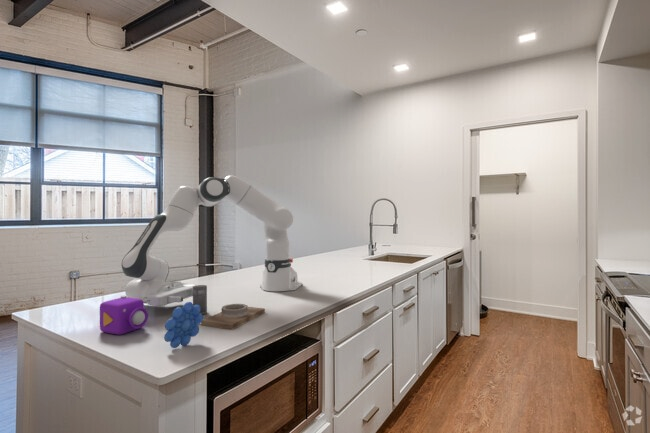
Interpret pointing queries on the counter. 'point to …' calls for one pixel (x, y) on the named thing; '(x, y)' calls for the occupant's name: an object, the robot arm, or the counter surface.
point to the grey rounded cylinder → (200, 298)
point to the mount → (233, 316)
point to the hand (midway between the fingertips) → (191, 296)
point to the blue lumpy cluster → (183, 325)
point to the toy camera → (122, 315)
